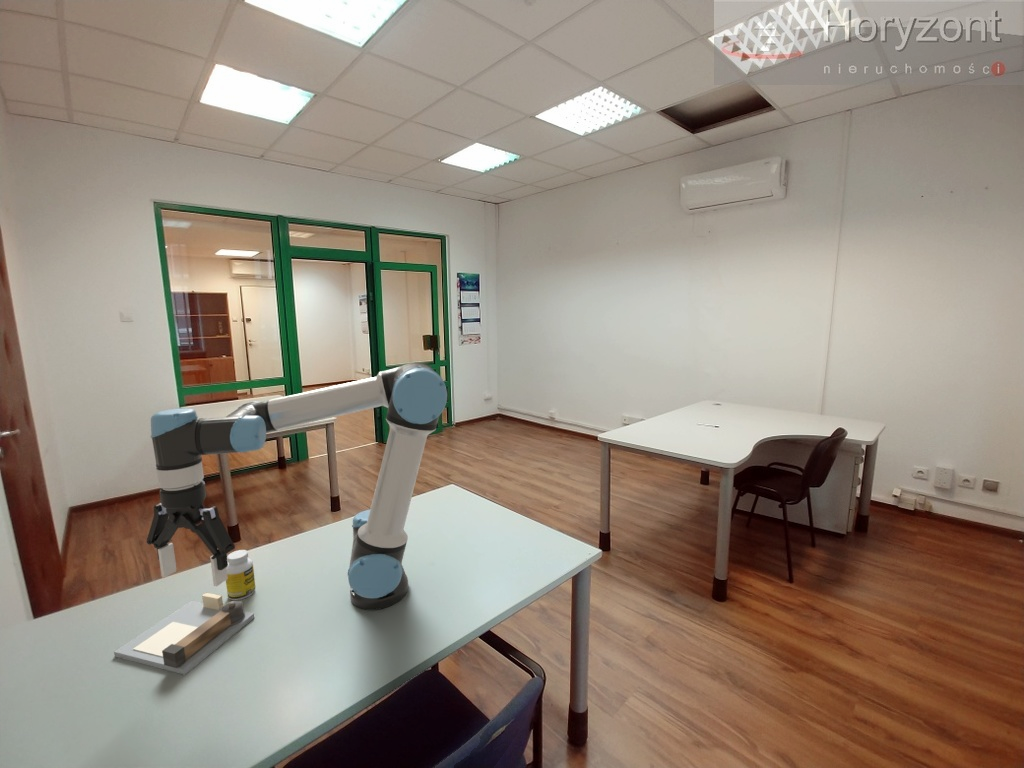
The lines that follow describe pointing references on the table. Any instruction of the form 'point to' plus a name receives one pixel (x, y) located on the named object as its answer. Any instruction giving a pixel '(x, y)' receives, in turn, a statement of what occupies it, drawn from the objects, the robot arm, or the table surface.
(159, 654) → the board
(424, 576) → the table surface
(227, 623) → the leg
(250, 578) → the pill bottle
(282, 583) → the table surface
